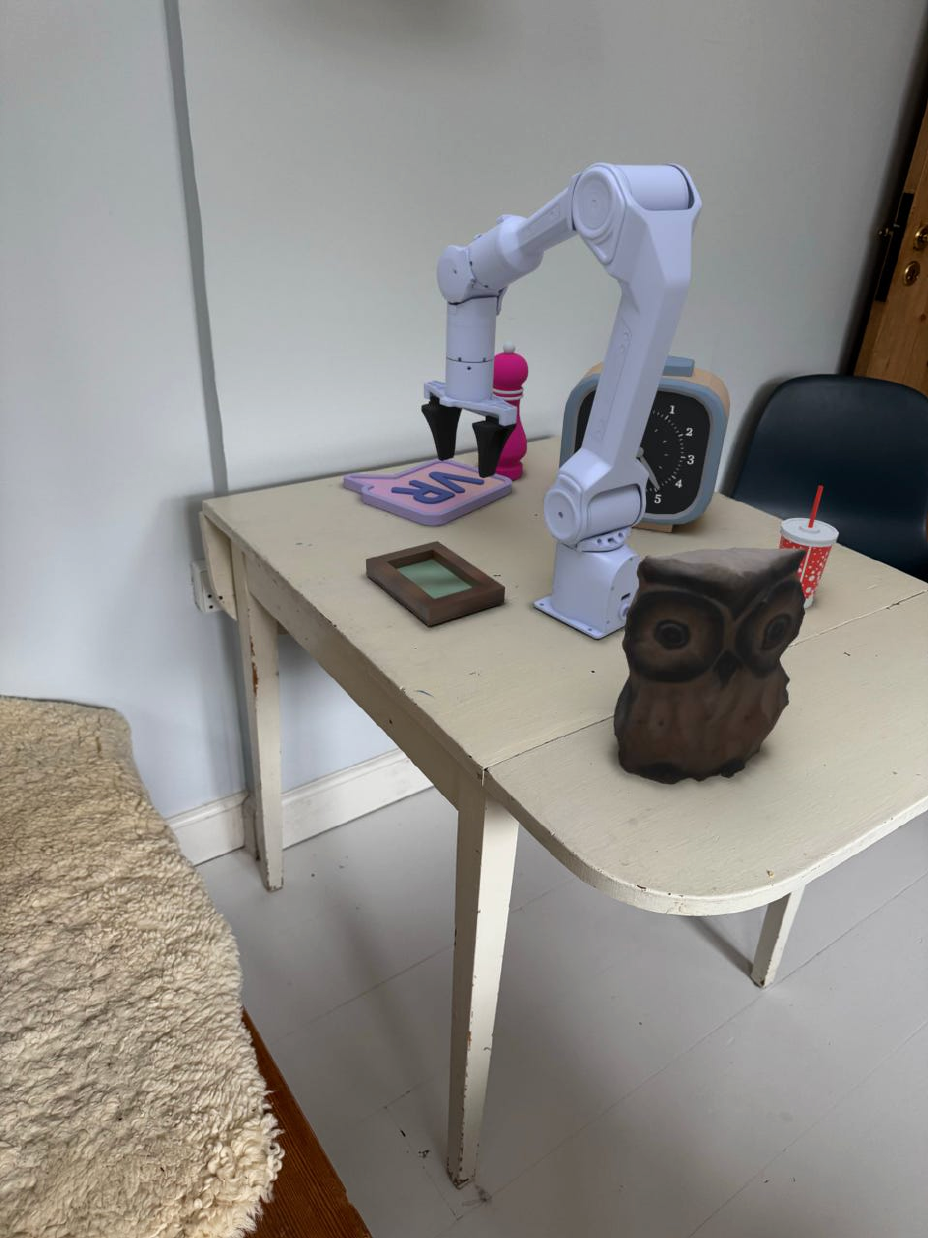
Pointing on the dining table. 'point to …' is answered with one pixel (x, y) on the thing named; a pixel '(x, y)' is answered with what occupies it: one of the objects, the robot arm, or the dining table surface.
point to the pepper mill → (509, 388)
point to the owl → (706, 660)
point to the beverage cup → (809, 547)
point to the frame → (435, 582)
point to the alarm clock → (667, 439)
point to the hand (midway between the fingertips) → (466, 467)
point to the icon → (430, 491)
